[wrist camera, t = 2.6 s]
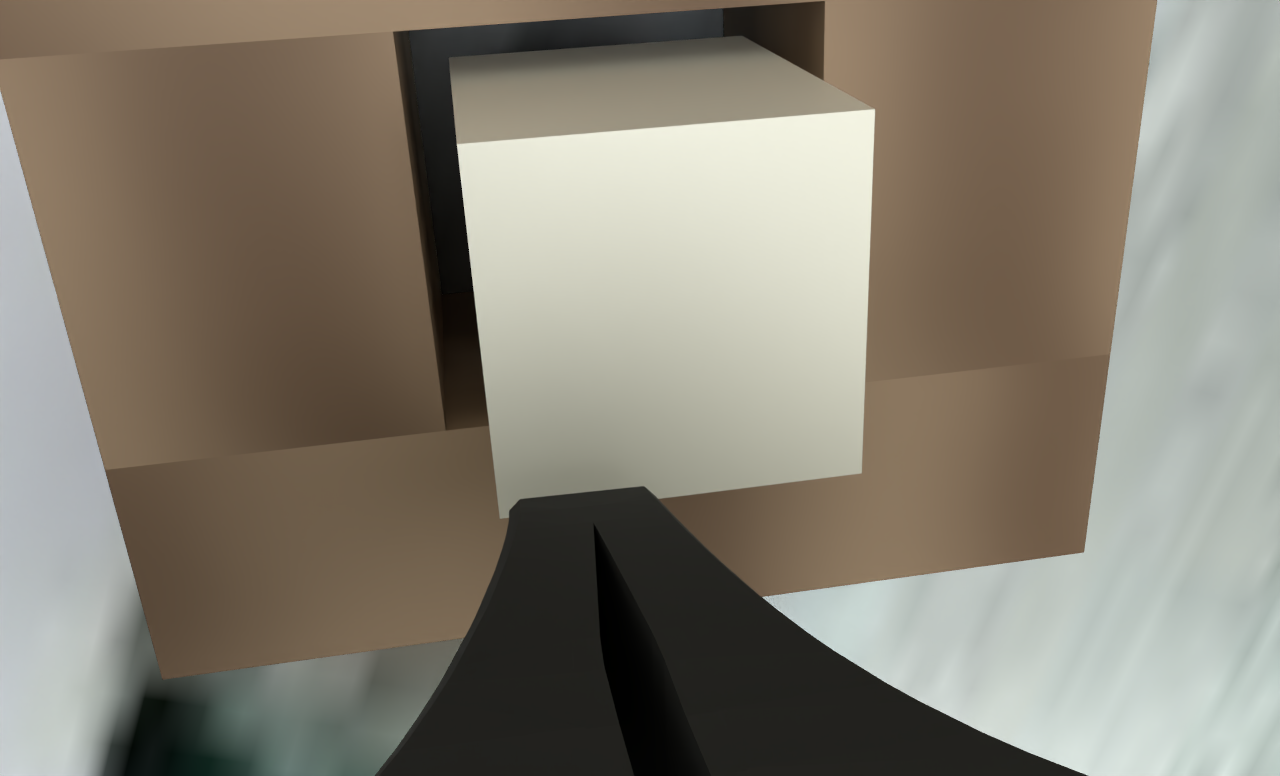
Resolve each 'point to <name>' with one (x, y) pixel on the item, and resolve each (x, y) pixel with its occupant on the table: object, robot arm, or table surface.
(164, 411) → the walnut block
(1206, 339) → the table surface
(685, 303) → the cream peg
